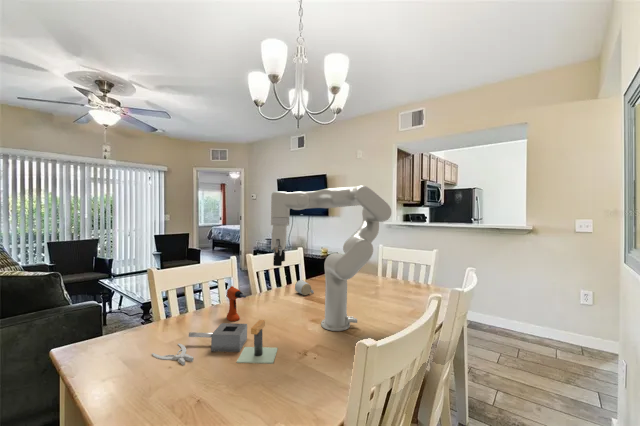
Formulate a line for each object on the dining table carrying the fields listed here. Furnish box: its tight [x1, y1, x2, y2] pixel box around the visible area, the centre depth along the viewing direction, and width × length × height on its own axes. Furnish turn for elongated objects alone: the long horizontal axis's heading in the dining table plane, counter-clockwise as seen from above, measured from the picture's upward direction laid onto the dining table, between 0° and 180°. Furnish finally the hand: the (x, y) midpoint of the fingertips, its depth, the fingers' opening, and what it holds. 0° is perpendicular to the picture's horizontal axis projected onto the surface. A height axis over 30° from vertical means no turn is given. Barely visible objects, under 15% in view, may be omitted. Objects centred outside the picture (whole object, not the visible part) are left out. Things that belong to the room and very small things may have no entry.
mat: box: [236, 346, 279, 365], centre depth 99 cm, size 12×10×1 cm
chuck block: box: [188, 322, 248, 353], centre depth 106 cm, size 20×10×6 cm, turn 90°
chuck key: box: [250, 319, 266, 356], centre depth 99 cm, size 3×7×10 cm, turn 168°
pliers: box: [151, 343, 194, 366], centre depth 97 cm, size 10×2×15 cm
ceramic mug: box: [294, 279, 315, 296], centre depth 172 cm, size 11×8×8 cm
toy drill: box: [226, 285, 247, 322], centre depth 127 cm, size 5×19×15 cm, turn 38°
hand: (279, 263), depth 117 cm, fingers open, 9 cm apart
